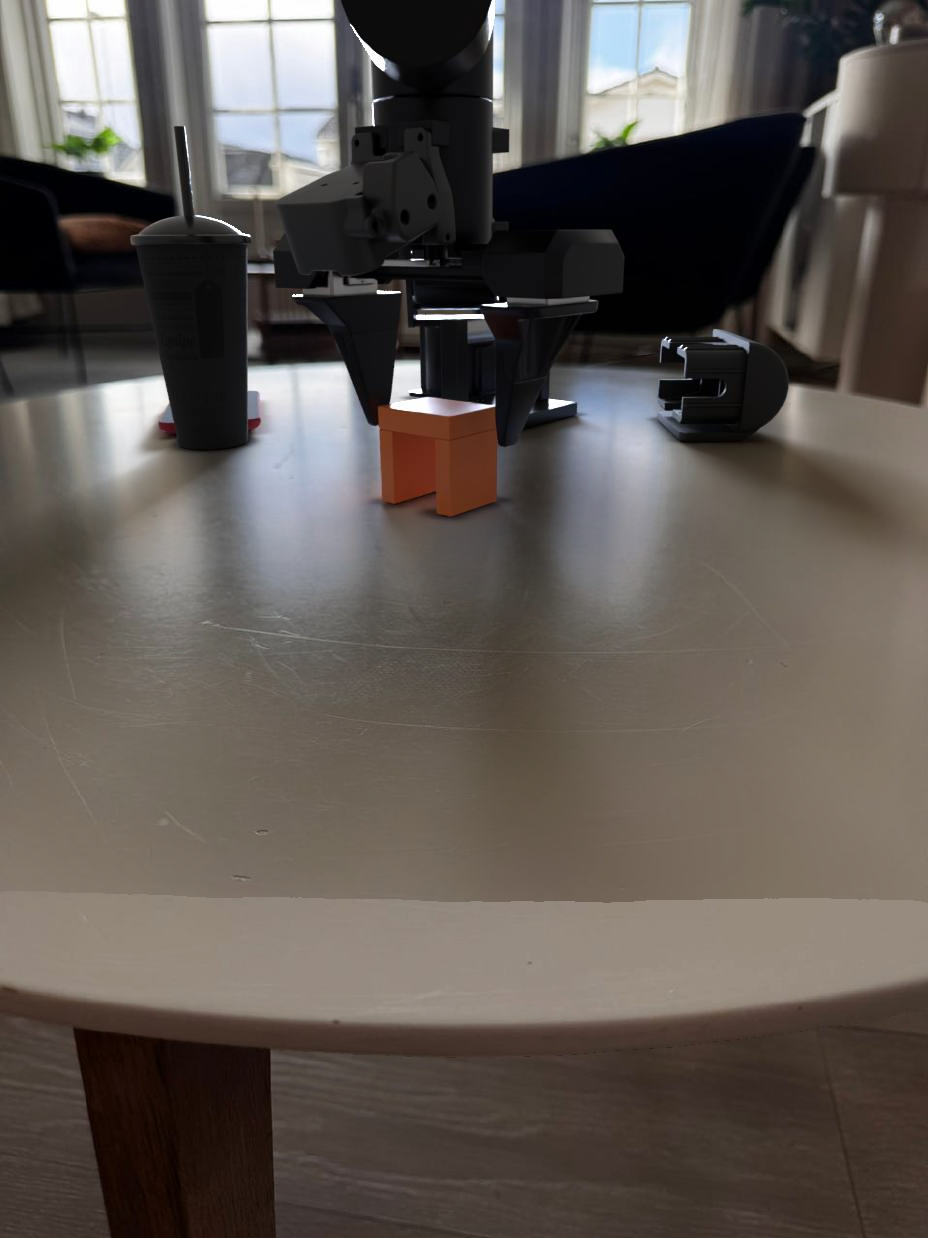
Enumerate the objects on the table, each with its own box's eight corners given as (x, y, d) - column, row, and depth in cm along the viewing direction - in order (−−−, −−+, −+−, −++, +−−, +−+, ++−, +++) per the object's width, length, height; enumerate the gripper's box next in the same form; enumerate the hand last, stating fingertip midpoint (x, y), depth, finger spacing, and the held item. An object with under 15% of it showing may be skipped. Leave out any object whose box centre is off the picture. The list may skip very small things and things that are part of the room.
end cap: (782, 442, 64) (795, 342, 62) (681, 443, 64) (689, 342, 62) (743, 416, 74) (753, 328, 71) (654, 417, 74) (660, 328, 71)
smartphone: (259, 390, 82) (260, 418, 68) (260, 400, 82) (261, 430, 69) (173, 393, 81) (157, 423, 67) (174, 403, 81) (158, 435, 67)
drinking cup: (287, 435, 68) (263, 129, 60) (231, 457, 61) (196, 116, 54) (198, 429, 70) (164, 134, 63) (135, 450, 64) (88, 122, 56)
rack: (414, 427, 71) (411, 317, 68) (508, 405, 79) (509, 307, 76) (486, 438, 67) (486, 322, 64) (577, 414, 75) (581, 311, 72)
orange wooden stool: (381, 501, 51) (377, 406, 49) (429, 487, 54) (427, 396, 52) (450, 517, 48) (449, 416, 46) (497, 501, 51) (498, 405, 49)
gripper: (170, 105, 43) (207, 437, 49) (481, 58, 32) (481, 493, 38) (342, 124, 51) (357, 408, 57) (640, 91, 40) (619, 447, 46)
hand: (438, 434), depth 50 cm, fingers open, 9 cm apart
